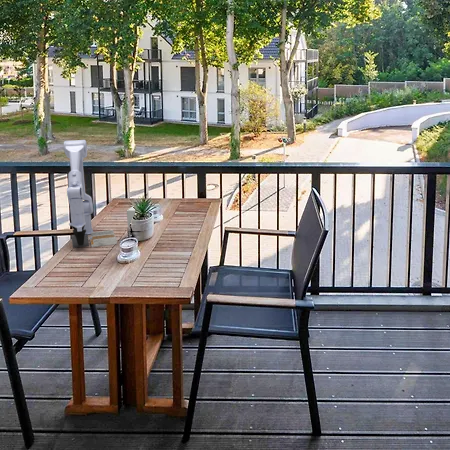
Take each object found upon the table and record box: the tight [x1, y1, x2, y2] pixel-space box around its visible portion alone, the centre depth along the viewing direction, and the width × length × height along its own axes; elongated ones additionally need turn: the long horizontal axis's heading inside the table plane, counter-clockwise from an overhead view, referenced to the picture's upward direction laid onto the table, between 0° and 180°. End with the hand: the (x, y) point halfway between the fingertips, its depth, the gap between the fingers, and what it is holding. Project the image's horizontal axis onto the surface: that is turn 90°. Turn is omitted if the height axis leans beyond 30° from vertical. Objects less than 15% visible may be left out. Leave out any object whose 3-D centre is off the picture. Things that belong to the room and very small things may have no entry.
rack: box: [88, 229, 118, 248], centre depth 288 cm, size 13×11×3 cm
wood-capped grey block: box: [71, 234, 90, 249], centre depth 283 cm, size 3×7×5 cm, turn 106°
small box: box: [126, 205, 135, 228], centre depth 303 cm, size 8×6×10 cm
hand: (80, 242), depth 283 cm, fingers open, 6 cm apart
